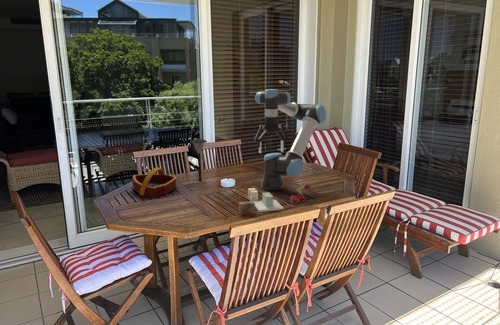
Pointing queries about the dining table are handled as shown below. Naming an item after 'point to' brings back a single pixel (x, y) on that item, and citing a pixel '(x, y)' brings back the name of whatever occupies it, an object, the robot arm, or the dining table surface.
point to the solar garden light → (198, 146)
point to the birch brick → (253, 194)
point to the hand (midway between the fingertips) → (271, 152)
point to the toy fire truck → (300, 197)
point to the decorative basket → (154, 183)
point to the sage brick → (267, 199)
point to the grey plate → (262, 207)
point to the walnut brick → (246, 207)
